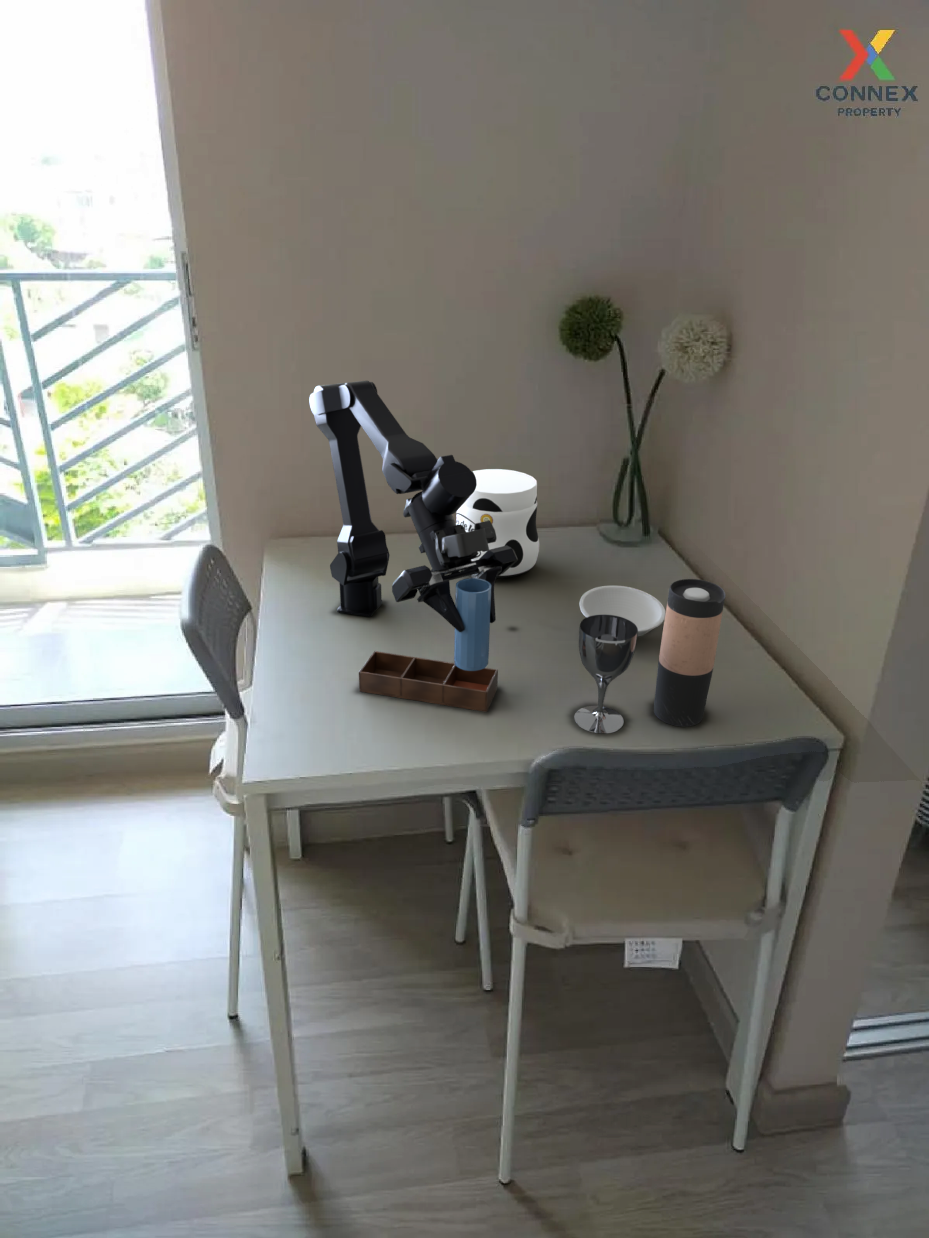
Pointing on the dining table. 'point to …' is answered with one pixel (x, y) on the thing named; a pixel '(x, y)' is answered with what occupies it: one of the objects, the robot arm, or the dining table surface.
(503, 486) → the milk container
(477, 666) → the tumbler
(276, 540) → the dining table surface
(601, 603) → the dish
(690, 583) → the travel mug
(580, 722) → the wine glass
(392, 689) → the caddy
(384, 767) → the dining table surface
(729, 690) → the dining table surface
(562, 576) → the dining table surface
